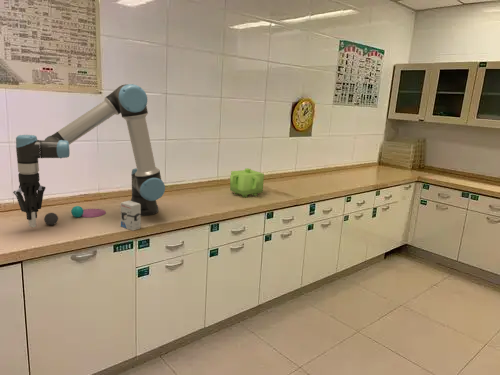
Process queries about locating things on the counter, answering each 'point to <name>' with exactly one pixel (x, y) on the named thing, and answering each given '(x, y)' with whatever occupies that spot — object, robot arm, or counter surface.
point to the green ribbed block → (246, 182)
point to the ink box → (131, 215)
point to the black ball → (51, 219)
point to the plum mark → (93, 212)
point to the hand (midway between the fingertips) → (32, 226)
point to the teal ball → (77, 211)
